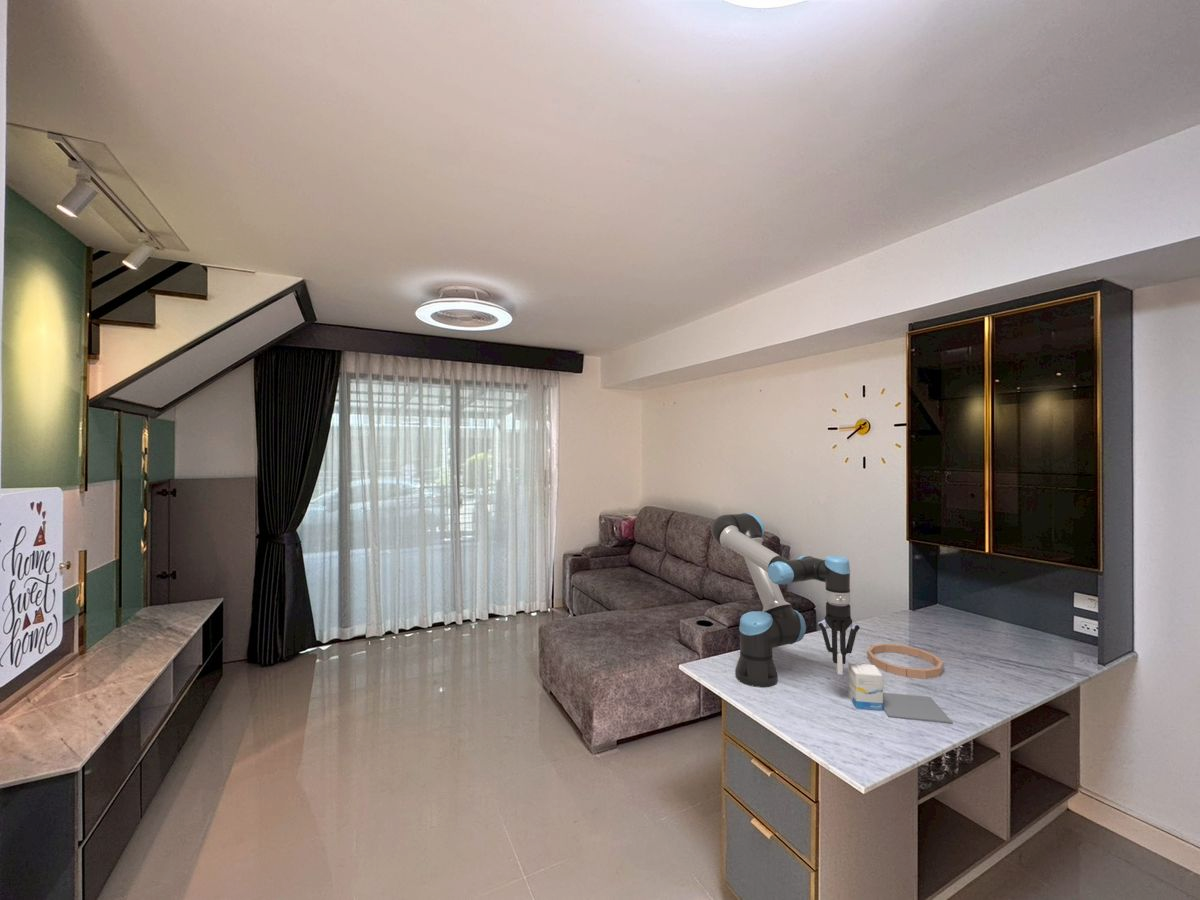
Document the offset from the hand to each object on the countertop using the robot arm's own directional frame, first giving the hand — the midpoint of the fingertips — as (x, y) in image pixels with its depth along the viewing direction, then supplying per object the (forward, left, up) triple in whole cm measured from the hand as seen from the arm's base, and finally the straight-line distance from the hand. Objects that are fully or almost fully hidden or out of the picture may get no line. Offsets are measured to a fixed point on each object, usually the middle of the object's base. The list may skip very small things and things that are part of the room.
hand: (839, 672), depth 167 cm
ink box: (+8, 0, -10) cm, 13 cm away
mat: (+22, 0, -10) cm, 24 cm away
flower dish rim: (+32, +36, -10) cm, 49 cm away
